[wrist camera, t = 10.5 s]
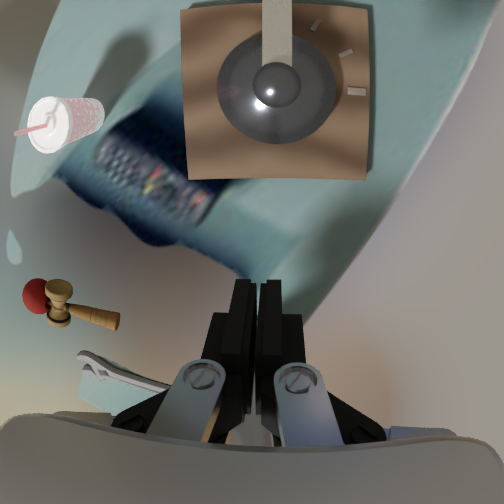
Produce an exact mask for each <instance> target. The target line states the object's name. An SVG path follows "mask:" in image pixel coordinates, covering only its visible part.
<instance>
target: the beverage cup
mask: <svg viewBox="0 0 504 504" xmlns="http://www.w3.org/2000/svg"><path fill="white" fill-rule="evenodd" d="M104 118H105V114H104V108H103V106H102V104H101V103H100V102H99V101H98V100H96V99H93V98H59V97H55V96H53V97H52V96H50V97H45V98H42V99H40V100H39V101H38V102H37V103H36V104H35V105H34V106H33V108H32V110H31V112H30V114H29V118H28V123H27V126H28V128H25V129H22V130H18V131H15V132H14V136H18V135H22V134H25V133H28V135H29V138H30V140H31V143H32V144H33V146H34V147H35V148H36V149H37V150H38V151H41V152H43V153H53V152H55V151H58V150H59V149H61V148H62V147H63V146H65V145H66V144H68V143H70V142H72V141H75V140H77V139H79V138H82V137H84V136H86V135H89V134H91V133H93V132H95V131H97V130H98V129H99V128H100V127H101V125H102V124H103V121H104Z"/></svg>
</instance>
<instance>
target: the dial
mask: <svg viewBox="0 0 504 504" xmlns="http://www.w3.org/2000/svg"><path fill="white" fill-rule="evenodd" d="M217 96H218V100H219V104H220V106H221V109H222V111H223V113H224V115H225V116H226V118H227V119H228V121H229V122H230V123H231V124H232V125H233V126H234V127H235V128H236V129H237V130H238V131H239V132H241V133H242V134H244V135H245V136H247V137H249V138H251V139H253V140H256V141H259V142H263V143H268V144H287V143H292V142H296V141H299V140H301V139H304V138H306V137H308V136H309V135H311V134H313V133H314V132H315V131H317V130H318V129H319V128H320V127H321V126H322V125H323V124H324V122H325V121H326V120H327V118H328V117H329V115H330V113H331V111H332V108H333V106H334V102H335V98H336V82H335V76H334V73H333V70H332V68H331V66H330V64H329V62H328V60H327V59H326V57H325V56H324V55H323V54H322V53H321V52H320V50H318V49H317V48H316V47H315V46H314V45H312V44H311V43H309V42H308V41H306V40H304V39H302V38H300V37H297V36H295V35H292V0H262V34H260V35H256V36H253V37H251V38H249V39H246V40H245V41H243V42H242V43H240V44H239V45H237V46H236V47H235V48H234V49H233V50H232V51H231V52H230V53H229V54H228V56H227V57H226V58H225V60H224V62H223V64H222V66H221V68H220V71H219V74H218V79H217Z"/></svg>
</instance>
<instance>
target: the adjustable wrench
mask: <svg viewBox="0 0 504 504" xmlns="http://www.w3.org/2000/svg"><path fill="white" fill-rule="evenodd" d="M76 360H84V361H86V362H87V363H88V364H90V365H91V366H85V365H84V367H83V369H82V370H83V372H85V373H86V374H88V375H89V376H91V377H94V378H96V379H99V380H100V381H102V380H105V379H114V380H117V381H120V382H123V383H126V384H128V385H131V386H134V387H137V388H140V389H143V390H146V391H149V392H152V393H156V394H159V393H161V392H162V391H164V390H166V389H168V388H170V387H171V385H170V384H166V383H163V382H159V381H156V380H154V381H155V382H154V381H151V380H152V379H151V380H148V379H145V378H142V377H138V376H135V375H132V374H129V373H126V372H123V371H121V370H118V369H115V368H114V367H112V366H110V365H108V364H107V363H105V362H104V361H102V360H101V359H100V358H98V357H97V356H96V354H94V353H92V352H90V351H86V350H84V351H80V352H79V353H78V355H77V357H76Z"/></svg>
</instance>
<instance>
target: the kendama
mask: <svg viewBox="0 0 504 504" xmlns="http://www.w3.org/2000/svg"><path fill="white" fill-rule="evenodd" d="M72 294H73V289H72V285H71V284H70V283H69V282H67V281H64V280H61V279H54V280H50V281H48V282H47V281H45V280H43V279H38V278H37V279H32V280H30V281H29V282H28V283H27V284H26V285H25V287H24V290H23V294H22V296H23V302H24V304H25V306H26V307H27V309H28V310H29V311H31V312H32V313H35V314H44V313H46V312H47V321H48V322H49V323H50V324H51V325H52V326H54V327H59V328H62V327H66V326H67V325H68V324H69V323H70V321H71V315H70V313H71V314H73V315H75V316H77V317H79V318H82V319H84V320H87V321H90V322H92V323H95V324H98V325H101V326H103V327H107V328H109V329H111V330H114V331H116V330H117V329H118V326H119V322H120V313H117V312H110V311H106V310H101V309H97V308H92V307H88V306H83V305H77V304H70V303H66V301H67V300H68V299H69V298H71V296H72Z"/></svg>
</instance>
